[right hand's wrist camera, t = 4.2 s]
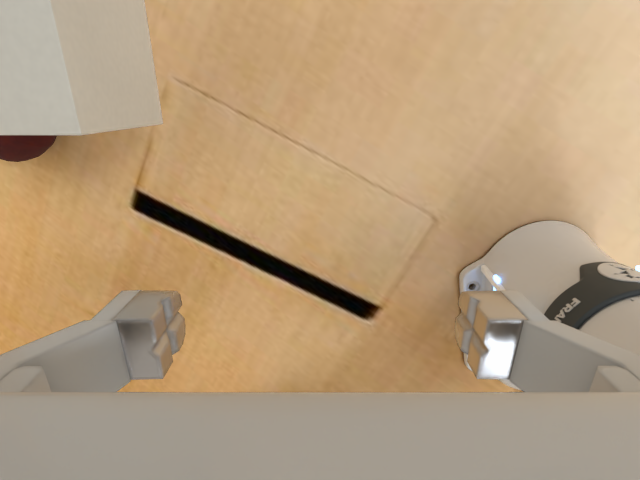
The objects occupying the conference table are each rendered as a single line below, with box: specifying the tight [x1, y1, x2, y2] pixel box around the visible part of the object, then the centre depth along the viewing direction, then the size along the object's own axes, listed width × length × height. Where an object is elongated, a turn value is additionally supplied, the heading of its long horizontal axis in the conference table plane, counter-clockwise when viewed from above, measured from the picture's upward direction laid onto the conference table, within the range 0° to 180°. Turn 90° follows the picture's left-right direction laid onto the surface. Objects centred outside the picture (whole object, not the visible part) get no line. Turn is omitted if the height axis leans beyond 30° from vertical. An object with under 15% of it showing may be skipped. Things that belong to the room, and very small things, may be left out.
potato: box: [0, 135, 57, 162], centre depth 33 cm, size 7×8×7 cm
